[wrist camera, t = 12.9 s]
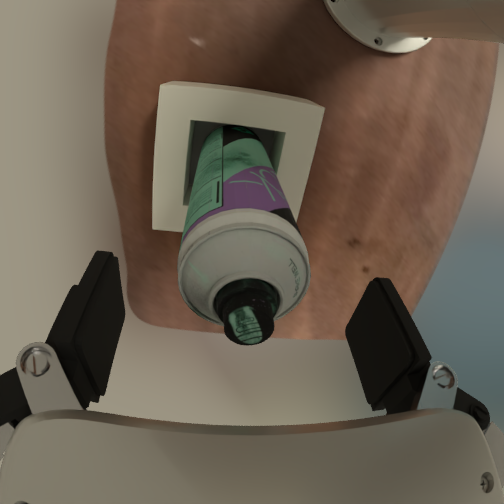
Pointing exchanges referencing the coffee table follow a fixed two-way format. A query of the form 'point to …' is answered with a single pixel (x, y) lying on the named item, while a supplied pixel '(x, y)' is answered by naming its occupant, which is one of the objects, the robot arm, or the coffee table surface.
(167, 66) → the coffee table surface
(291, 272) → the spray can
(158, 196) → the can holder
